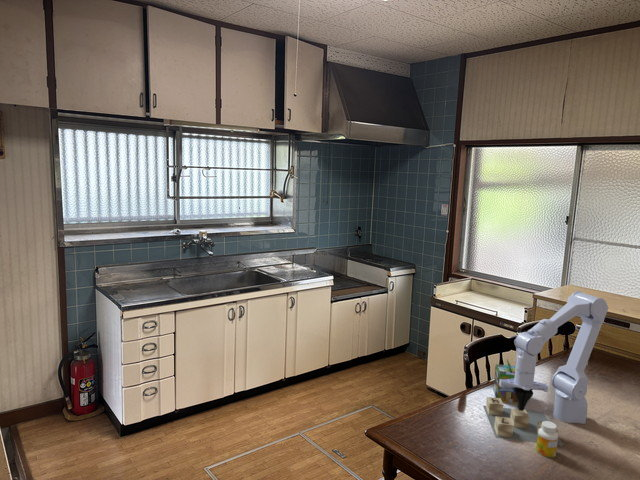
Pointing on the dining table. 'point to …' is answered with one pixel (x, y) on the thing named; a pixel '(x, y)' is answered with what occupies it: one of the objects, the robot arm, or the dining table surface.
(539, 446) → the supplement bottle
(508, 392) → the chalk box
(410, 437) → the dining table surface
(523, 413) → the plain block
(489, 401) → the block four
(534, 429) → the mat
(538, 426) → the tan cube
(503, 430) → the block seven
